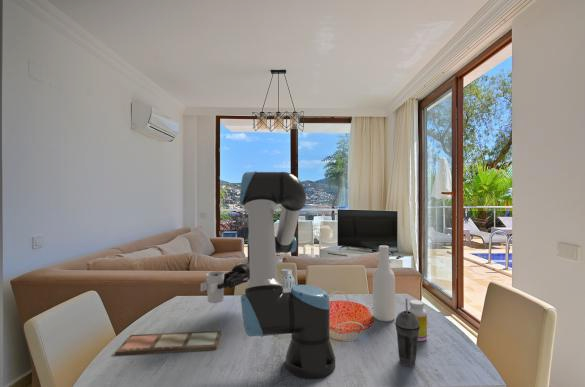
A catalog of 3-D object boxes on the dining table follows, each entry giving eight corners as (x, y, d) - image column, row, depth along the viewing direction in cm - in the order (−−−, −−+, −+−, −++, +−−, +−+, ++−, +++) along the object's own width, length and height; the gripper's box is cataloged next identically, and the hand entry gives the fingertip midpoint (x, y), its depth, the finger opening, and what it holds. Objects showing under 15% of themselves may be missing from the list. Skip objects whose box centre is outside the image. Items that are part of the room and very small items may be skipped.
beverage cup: (422, 360, 97) (422, 296, 97) (417, 371, 91) (417, 303, 91) (398, 353, 101) (398, 292, 101) (392, 364, 95) (392, 298, 95)
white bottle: (399, 318, 128) (399, 246, 128) (385, 324, 123) (385, 248, 123) (382, 312, 135) (382, 243, 135) (368, 316, 130) (368, 245, 130)
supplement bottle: (429, 337, 112) (429, 301, 112) (422, 343, 107) (422, 306, 107) (411, 331, 117) (411, 297, 116) (403, 337, 112) (404, 302, 112)
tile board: (216, 349, 104) (216, 346, 104) (115, 355, 100) (115, 351, 100) (220, 333, 116) (220, 330, 116) (130, 337, 112) (130, 334, 112)
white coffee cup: (205, 298, 118) (204, 272, 117) (223, 296, 120) (222, 270, 120) (207, 304, 111) (207, 276, 111) (226, 301, 114) (225, 274, 114)
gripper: (260, 283, 128) (224, 302, 107) (227, 278, 135) (188, 295, 114) (260, 265, 128) (224, 280, 107) (227, 261, 135) (188, 275, 114)
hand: (206, 288), depth 111 cm, fingers closed on white coffee cup, 3 cm apart
